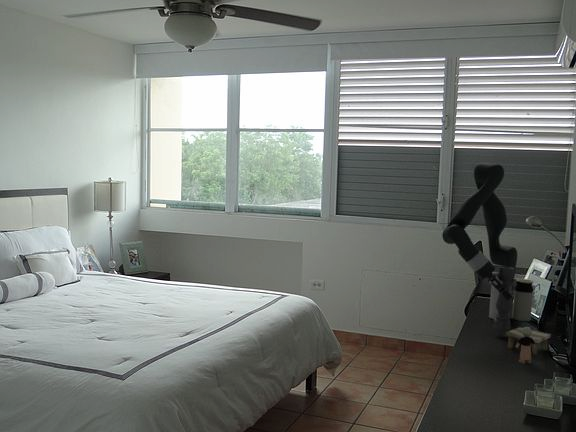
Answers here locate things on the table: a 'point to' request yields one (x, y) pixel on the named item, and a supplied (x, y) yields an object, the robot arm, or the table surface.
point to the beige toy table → (535, 336)
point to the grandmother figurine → (526, 345)
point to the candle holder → (504, 300)
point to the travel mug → (522, 300)
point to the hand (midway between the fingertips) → (509, 297)
